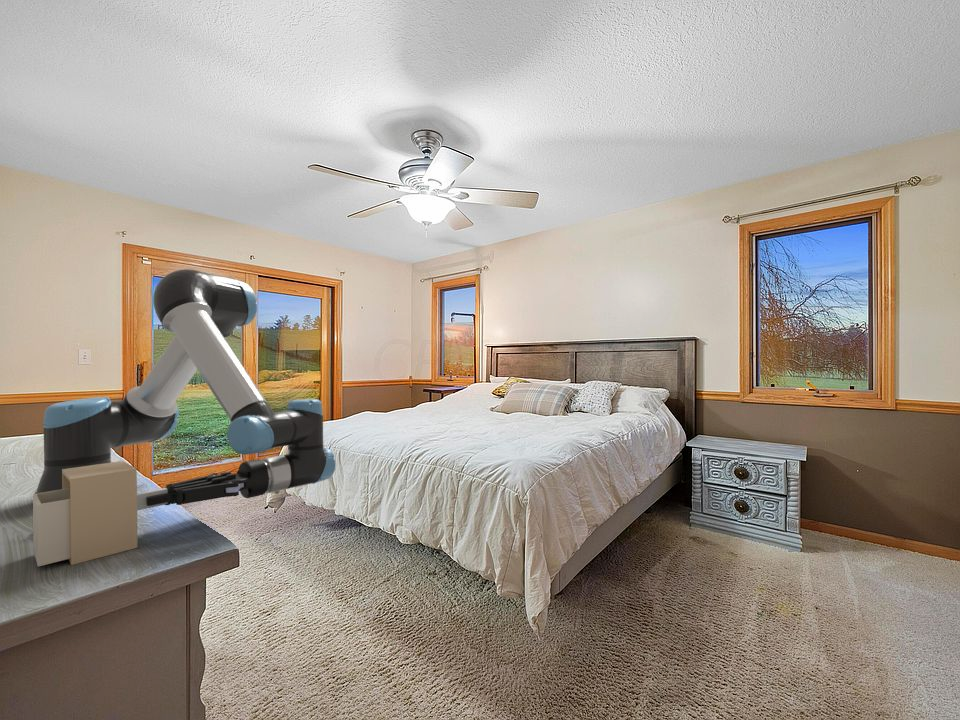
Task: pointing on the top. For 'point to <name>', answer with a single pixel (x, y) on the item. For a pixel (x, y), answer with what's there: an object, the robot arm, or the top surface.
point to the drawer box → (51, 526)
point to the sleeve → (101, 509)
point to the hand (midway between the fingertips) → (121, 504)
